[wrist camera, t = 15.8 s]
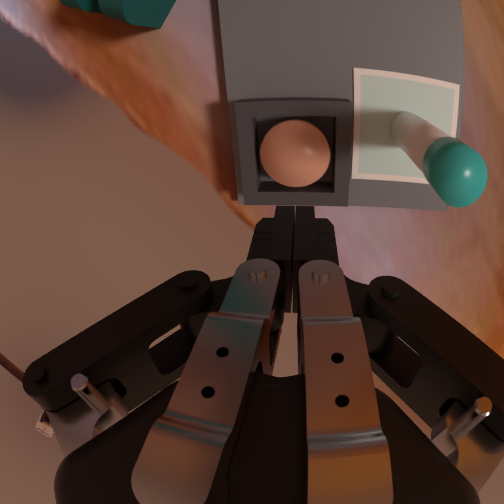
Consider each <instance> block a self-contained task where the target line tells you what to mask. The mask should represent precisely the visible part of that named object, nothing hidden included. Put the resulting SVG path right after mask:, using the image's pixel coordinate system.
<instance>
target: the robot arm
mask: <svg viewBox="0 0 504 504" xmlns="http://www.w3.org/2000/svg"><path fill="white" fill-rule="evenodd" d="M292 288H293V313H298V316H297V351H298V375H294V376H288V377H275V376H272V374H273V369H274V364H275V360H276V355H277V350H278V346H279V341H280V336H281V332H282V324H283V320H284V312H286V313H290V312H291V301H292ZM179 324H180V326H181V329H179V330H178V331H176V332H175V333H173V334H172V335H170V336H169V337H167V338H165V339H164V340H163V341H161V342H159V343H158V344H156V345H155V346H153V347H152V348H150V349H149V346H150V344H151V343H152V342H153V341H155V340H156V339H158V338H159V337H161V336H162V335H164V334H165V333H167V332H168V331H170V330H171V329H173V328H174V327H176V326H178V325H179ZM397 336H398V337H399V338H400V339H402V340H403V341H404V342H405V343H406V344H407V345H409V346H410V347H411V348H412V349H413V350H414V351H415V352H417V353H418V354H419V355H418V354H417V353H415V352H414V351H413V350H412V349H411V348H410V347H409V346H407V345H406V344H405V343H404V342H403V341H402V340H400V339H399V338H398V337H397ZM372 371H373V372H374V373H375V374H376V375H377V376H378V377H379V378H380V379H381V380H382V381H383V382H384V383H385V384H386V385H387V386H388V387H389V388H390V389H391V390H392V391H393V392H394V393H395V394H396V395H398V396H399V397H400V398H401V399H402V400H403V401H404V402H405V403H406V404H407V405H408V406H409V407H410V408H411V409H412V410H413V411H414V412H415V413H416V414H417V415H418V416H419V417H420V418H421V419H422V420H423V421H424V422H425V423H426V424H427V425H428V426H429V427H431V429H432V430H431V441H430V439H429V438H428V437H427V436H426V435H425V434H424V433H423V432H422V431H421V430H420V429H419V428H418V427H417V426H416V424H414V422H413V421H412V420H411V419H410V418H409V417H408V416H407V415H406V414H405V413H404V412H403V411H402V410H401V409H400V407H398V405H397V404H396V403H395V402H394V401H393V400H392V399H391V398H390V397H388V396H387V395H386V394H385V393H383V392H382V391H380V390H378V389H377V388H375V387H374V381H373V375H372ZM178 378H180V379H179V380H178V381H176V382H174V381H175V380H177V379H178ZM172 382H174V383H172ZM171 383H172V384H171ZM168 385H169V386H168ZM165 387H166V388H165ZM23 388H24V390H25V392H26V393H27V394H28V395H29V396H30V397H31V398H33V399H34V400H35V401H36V402H37V403H38V404H39V405H40V406H41V408H42V409H43V410H45V411H46V413H47V415H48V417H49V420H50V423H51V425H52V428H53V430H54V432H55V435H56V438H57V440H58V442H59V445H60V447H61V449H62V451H63V454H64V456H65V459H63V461H62V462H61V464H60V465H59V468H58V470H57V472H56V475H55V481H54V491H55V498H56V504H480V499H479V496H478V492H479V491H480V489H481V488H482V487H483V485H484V484H485V483H486V481H487V480H488V479H489V477H490V476H491V474H492V473H493V472H494V470H495V469H496V467H497V466H498V464H499V463H500V461H501V460H502V458H503V457H504V359H503V358H501V357H500V356H499V355H498V354H497V353H496V352H494V351H493V350H492V349H491V348H490V347H488V346H487V345H486V344H485V343H484V342H482V341H481V340H480V339H479V338H477V337H476V336H475V335H474V334H472V333H471V332H470V331H469V330H467V329H466V328H465V327H464V326H462V325H461V324H460V323H459V322H457V321H456V320H455V319H454V318H452V317H451V316H450V315H448V314H447V313H446V312H445V311H443V310H442V309H441V308H439V307H438V306H437V305H435V304H434V303H433V302H431V301H430V300H429V299H427V298H426V297H425V296H423V295H422V294H421V293H419V292H418V291H417V290H415V289H414V288H412V287H411V286H410V285H408V284H407V283H406V282H404V281H403V280H401V279H399V278H396V277H393V276H380V277H377V278H375V279H373V280H372V281H371V282H370V284H369V285H366V284H362V283H359V282H355V281H353V280H351V279H349V278H347V277H346V276H345V275H344V274H343V271H342V269H341V268H340V267H339V261H338V254H337V246H336V239H335V232H334V225H333V224H332V223H331V222H330V221H329V220H328V219H327V218H315V212H314V206H296V216H295V206H276V210H275V216H274V218H262V219H261V220H260V221H259V222H258V223H257V224H256V227H255V230H254V234H253V238H252V242H251V246H250V249H249V253H248V257H247V260H246V261H245V262H244V263H242V264H241V265H239V267H238V268H237V270H236V272H235V274H234V276H232V277H229V278H226V279H222V280H217V281H210V278H209V276H208V275H207V274H206V273H204V272H201V271H197V270H190V271H185V272H182V273H180V274H177V275H176V276H174V277H172V278H171V279H169V280H167V281H165V282H164V283H162V284H160V285H159V286H157V287H155V288H154V289H152V290H150V291H149V292H147V293H145V294H144V295H142V296H140V297H139V298H137V299H135V300H133V301H132V302H130V303H129V304H127V305H125V306H124V307H122V308H120V309H118V310H117V311H115V312H113V313H112V314H110V315H108V316H107V317H105V318H104V319H102V320H100V321H99V322H97V323H95V324H94V325H92V326H90V327H89V328H87V329H86V330H84V331H83V332H81V333H79V334H77V335H76V336H74V337H72V338H71V339H69V340H68V341H66V342H64V343H63V344H61V345H59V346H58V347H56V348H55V349H53V350H51V351H50V352H48V353H47V354H45V355H43V356H42V357H40V358H39V359H37V360H36V361H34V362H32V363H31V364H30V365H29V367H28V368H27V369H26V371H25V373H24V376H23ZM162 389H163V390H162ZM161 390H162V391H161ZM159 391H160V392H159ZM158 392H159V393H158ZM156 393H158V394H156ZM155 394H156V395H155ZM153 395H155V396H153ZM152 396H153V397H152ZM150 397H152V398H150ZM149 398H150V399H149ZM147 399H149V400H148V401H146V400H147ZM144 401H146V402H145V403H143V402H144ZM141 403H143V404H142V405H141V406H139V407H138V408H136V409H135V410H134V411H132V412H131V413H129V411H131V410H132V409H134V408H135V407H137V406H138V405H140V404H141Z"/></svg>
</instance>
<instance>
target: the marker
mask: <svg viewBox="0 0 504 504" xmlns="http://www.w3.org/2000/svg"><path fill="white" fill-rule="evenodd" d="M390 134H391V137H392V139H393V140H394V142H395V143H396V144H397V145H398V146H399V147H400V148H401V149H402V150H403V151H404V152H405V153H406V155H407V156H408V157H409V158H410V159H411V160H412V161H413V162H414V163H415V165H416V166H417V167H418V168H419V169H420V170H421V172H422V173H423V174H424V175H425V178H426V180H427V181H428V182H429V184H430V185H431V186H432V187H433V189H434V190H435V191H436V193H437V194H438V195H439V196H440V198H441V199H442V200H443V201H444V202H445V203H446V204H448V205H450V206H453V207H465V206H468V205H470V204H472V203H473V202H475V201H476V200H477V199H478V198H479V197H480V195H481V194H482V192H483V191H484V189H485V186H486V182H487V168H486V164H485V162H484V160H483V158H482V157H481V156H480V155H479V154H478V153H477V152H476V151H475V150H473V149H472V148H470V147H469V146H467V145H466V144H465V143H463V142H462V141H460V140H459V139H457V138H454V137H451V136H450V135H448V134H447V133H445V132H444V131H442V130H441V129H439V128H437V127H436V126H434V125H433V124H431V123H429V122H428V121H426V120H424V119H423V118H421V117H419V116H418V115H416V114H414V113H412V112H401V113H399V114H397V115H396V116H395V117H394V118H393V120H392V121H391V124H390Z"/></svg>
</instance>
